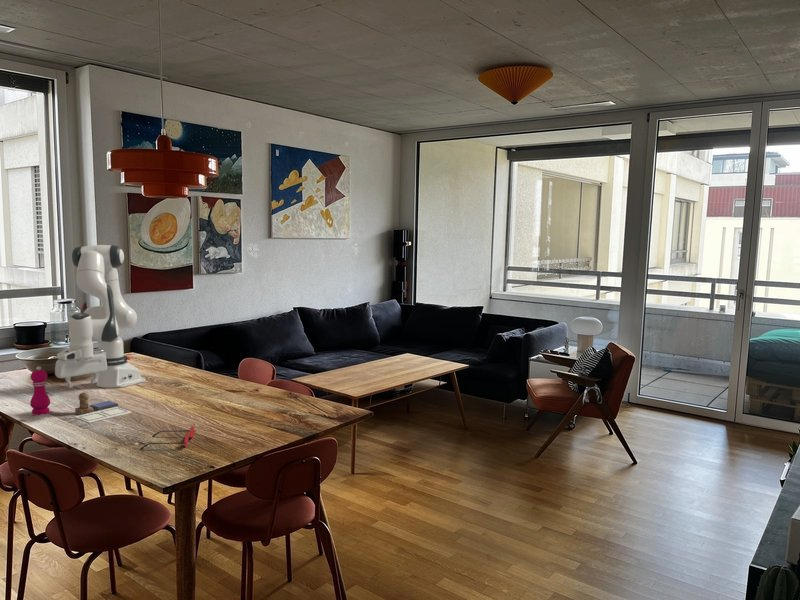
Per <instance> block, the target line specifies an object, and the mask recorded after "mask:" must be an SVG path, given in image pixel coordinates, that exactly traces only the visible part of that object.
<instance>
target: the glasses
mask: <svg viewBox="0 0 800 600" xmlns="http://www.w3.org/2000/svg"><path fill="white" fill-rule="evenodd" d="M166 432H167V433H168V432H173V433H174V432H175V433H176V432H179V433H180V432H186V433H185V434H184V437H183V441H181V442H149V443H147V444H145V445H143V446H141V448H139V450H143V449H144V448H146V447H147V446H148V445H154V444H155V445H160V444H161V445H162V444H163V445H164V444H165V445H167V444H169V445H171V444H173V445H174V444H175V445H177V444H178V445H180V444H182V445H184V447H188V443H189V441H190V440H189V439H190V438H191V439H192V438H194V437H195V433H196V432H197V429H195V427H194V425H193V426H191V427H190V428H189V430H187V429H186V430H185V429H184V430H182V429H181V430H180V429H179V430H159V431H158V432H155V434H152V436H151V437H155V436H157V435H158V434H159V433H166Z"/></svg>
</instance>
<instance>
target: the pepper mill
mask: <svg viewBox="0 0 800 600" xmlns="http://www.w3.org/2000/svg"><path fill="white" fill-rule="evenodd" d="M47 379H48V373H47V371H46V370H44V369H42V367H41V366H39V365H38V366H36V367H35V370H33V371H32V372H31V374H30V380H31V384H32V387H33V394H32V397H31V399H30V403H29V404H30V407H31V408H32V410H31V414H32V415H33V416H43V415H47V414H49V413H50V407H49V406H50V405H51V399H50V397H49V395H48V394H47V391H46V385H47Z"/></svg>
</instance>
